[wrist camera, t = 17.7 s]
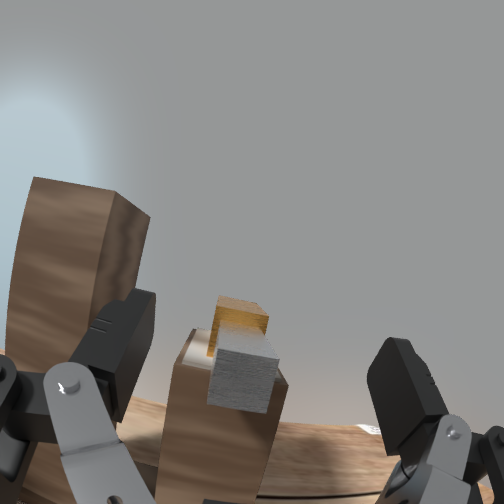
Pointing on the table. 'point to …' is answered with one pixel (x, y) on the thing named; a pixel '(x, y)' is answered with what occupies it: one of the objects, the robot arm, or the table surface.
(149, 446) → the table surface
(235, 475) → the zigzag patterned block
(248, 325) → the bar
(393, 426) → the robot arm
